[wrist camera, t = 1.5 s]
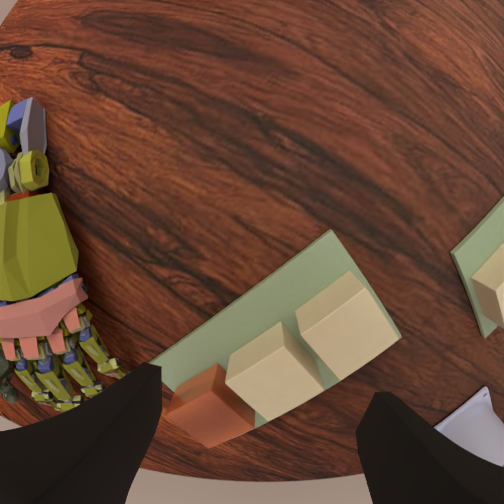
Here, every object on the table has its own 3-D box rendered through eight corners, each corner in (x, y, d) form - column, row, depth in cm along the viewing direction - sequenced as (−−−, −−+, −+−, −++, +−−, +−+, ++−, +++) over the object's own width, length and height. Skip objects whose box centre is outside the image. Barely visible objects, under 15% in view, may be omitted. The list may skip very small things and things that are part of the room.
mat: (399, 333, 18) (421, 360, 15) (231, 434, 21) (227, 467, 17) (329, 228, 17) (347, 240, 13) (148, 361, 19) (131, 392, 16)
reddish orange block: (256, 398, 19) (255, 428, 16) (214, 420, 19) (208, 449, 17) (217, 362, 18) (210, 390, 15) (175, 387, 19) (164, 415, 16)
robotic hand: (69, 64, 13) (144, 460, 14) (103, 108, 20) (159, 406, 21) (-48, 129, 12) (12, 450, 12) (-2, 151, 19) (48, 411, 20)
